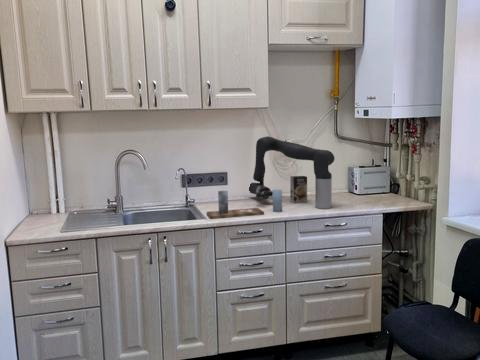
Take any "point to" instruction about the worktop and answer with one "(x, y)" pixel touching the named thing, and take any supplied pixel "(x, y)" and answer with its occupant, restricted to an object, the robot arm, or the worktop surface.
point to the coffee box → (298, 189)
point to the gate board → (227, 213)
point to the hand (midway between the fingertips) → (271, 196)
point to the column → (277, 200)
